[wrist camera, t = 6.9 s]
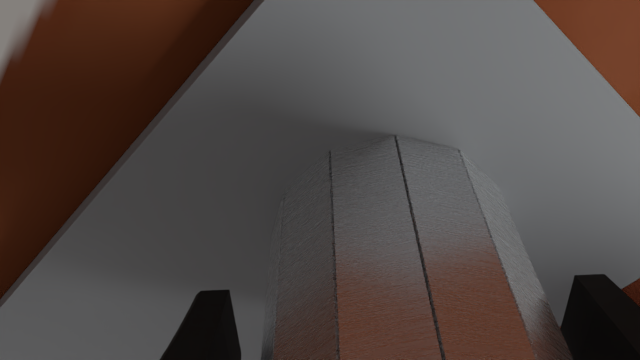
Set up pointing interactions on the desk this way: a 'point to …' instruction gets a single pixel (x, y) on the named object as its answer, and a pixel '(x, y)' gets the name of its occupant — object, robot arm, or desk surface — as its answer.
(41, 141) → the desk surface
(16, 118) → the desk surface
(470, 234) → the collar
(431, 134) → the duct board
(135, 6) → the desk surface
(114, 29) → the desk surface
